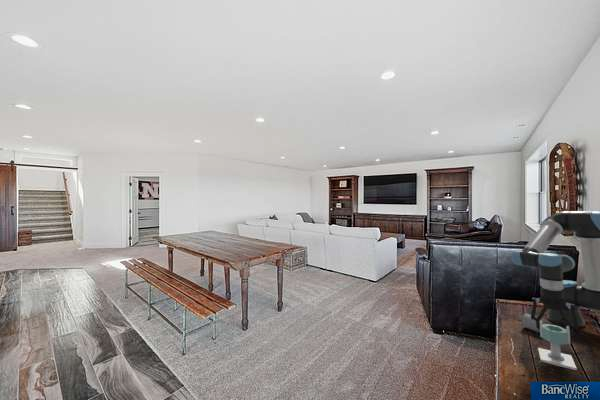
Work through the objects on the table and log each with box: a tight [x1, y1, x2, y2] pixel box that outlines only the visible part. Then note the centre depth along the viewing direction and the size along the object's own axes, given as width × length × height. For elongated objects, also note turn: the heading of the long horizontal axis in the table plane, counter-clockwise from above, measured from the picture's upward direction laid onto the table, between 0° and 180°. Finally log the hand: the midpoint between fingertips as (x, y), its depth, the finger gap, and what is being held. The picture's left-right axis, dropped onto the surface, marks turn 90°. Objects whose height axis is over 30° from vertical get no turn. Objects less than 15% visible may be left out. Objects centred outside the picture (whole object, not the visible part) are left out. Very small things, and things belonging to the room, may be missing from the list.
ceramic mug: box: [521, 313, 547, 333], centre depth 140 cm, size 11×8×8 cm
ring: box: [542, 323, 569, 346], centre depth 114 cm, size 8×8×5 cm
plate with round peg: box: [537, 342, 578, 372], centre depth 114 cm, size 11×11×10 cm
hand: (554, 338), depth 114 cm, fingers closed on ring, 8 cm apart
